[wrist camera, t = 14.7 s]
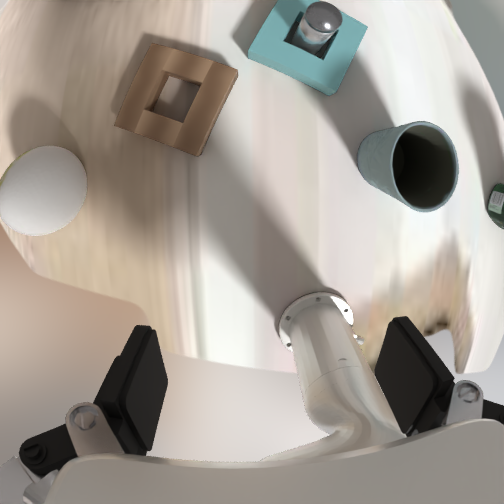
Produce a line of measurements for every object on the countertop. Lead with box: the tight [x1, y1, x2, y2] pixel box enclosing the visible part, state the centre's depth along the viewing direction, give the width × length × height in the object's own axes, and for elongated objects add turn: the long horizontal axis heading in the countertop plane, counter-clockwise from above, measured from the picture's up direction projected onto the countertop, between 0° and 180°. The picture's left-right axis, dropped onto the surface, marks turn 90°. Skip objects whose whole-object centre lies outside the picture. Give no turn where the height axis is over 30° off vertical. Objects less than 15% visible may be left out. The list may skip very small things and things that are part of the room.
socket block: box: [248, 0, 368, 96], centre depth 29 cm, size 12×12×4 cm
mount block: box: [114, 43, 238, 156], centre depth 32 cm, size 12×12×4 cm
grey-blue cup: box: [357, 121, 459, 212], centre depth 31 cm, size 10×10×12 cm
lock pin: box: [292, 1, 343, 55], centre depth 26 cm, size 4×4×10 cm
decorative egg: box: [0, 146, 87, 236], centre depth 30 cm, size 12×12×15 cm
